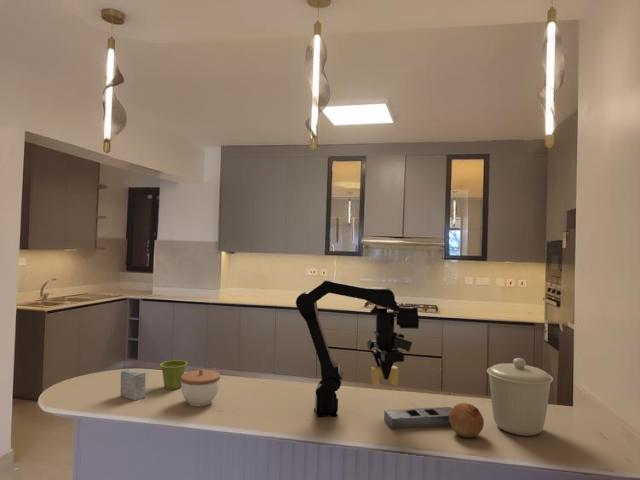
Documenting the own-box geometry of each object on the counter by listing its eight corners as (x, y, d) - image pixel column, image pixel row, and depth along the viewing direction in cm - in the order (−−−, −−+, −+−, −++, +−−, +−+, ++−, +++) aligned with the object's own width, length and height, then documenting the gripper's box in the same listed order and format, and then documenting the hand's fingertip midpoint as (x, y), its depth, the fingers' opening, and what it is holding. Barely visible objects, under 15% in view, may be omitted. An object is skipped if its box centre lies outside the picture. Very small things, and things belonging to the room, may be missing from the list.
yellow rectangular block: (373, 386, 138) (373, 369, 138) (370, 383, 140) (371, 366, 141) (398, 385, 139) (398, 368, 139) (394, 382, 142) (395, 365, 142)
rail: (391, 429, 131) (391, 418, 131) (384, 419, 137) (384, 409, 137) (461, 425, 134) (461, 415, 134) (450, 416, 141) (450, 406, 141)
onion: (478, 449, 125) (494, 423, 122) (448, 440, 125) (462, 414, 121) (469, 424, 134) (483, 399, 131) (440, 416, 133) (454, 390, 130)
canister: (561, 445, 122) (563, 368, 123) (492, 438, 126) (494, 364, 126) (540, 419, 140) (542, 353, 140) (480, 414, 143) (482, 349, 144)
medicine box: (145, 397, 152) (146, 372, 152) (134, 401, 148) (134, 375, 148) (131, 392, 156) (132, 368, 156) (119, 396, 152) (120, 371, 152)
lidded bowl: (200, 412, 140) (200, 377, 140) (172, 404, 146) (172, 370, 146) (227, 400, 151) (228, 368, 151) (200, 393, 157) (200, 362, 157)
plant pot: (179, 392, 158) (180, 367, 158) (154, 390, 159) (155, 366, 159) (190, 384, 167) (191, 361, 167) (167, 382, 168) (167, 359, 168)
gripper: (421, 333, 132) (420, 385, 132) (398, 322, 151) (398, 368, 150) (385, 334, 130) (384, 387, 130) (367, 322, 148) (366, 369, 148)
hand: (384, 377), depth 140 cm, fingers closed on yellow rectangular block, 3 cm apart
